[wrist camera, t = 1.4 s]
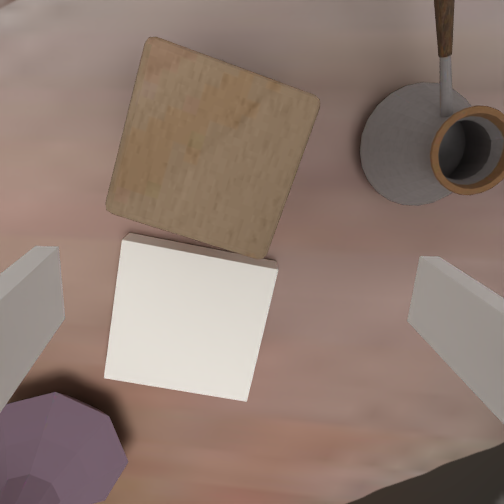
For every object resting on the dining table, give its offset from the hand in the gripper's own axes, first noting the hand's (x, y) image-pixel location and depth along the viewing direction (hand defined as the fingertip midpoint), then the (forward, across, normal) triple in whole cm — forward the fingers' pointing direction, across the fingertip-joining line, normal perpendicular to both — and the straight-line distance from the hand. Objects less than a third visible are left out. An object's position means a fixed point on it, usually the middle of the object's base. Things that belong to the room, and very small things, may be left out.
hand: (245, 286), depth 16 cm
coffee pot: (+29, -17, -8) cm, 35 cm away
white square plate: (+29, +3, +16) cm, 34 cm away
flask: (+30, +17, +32) cm, 47 cm away
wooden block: (+30, 0, -3) cm, 30 cm away
